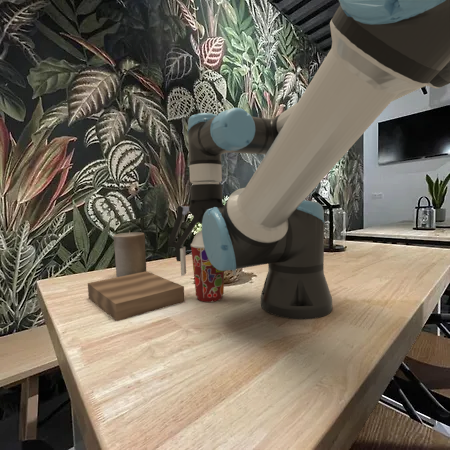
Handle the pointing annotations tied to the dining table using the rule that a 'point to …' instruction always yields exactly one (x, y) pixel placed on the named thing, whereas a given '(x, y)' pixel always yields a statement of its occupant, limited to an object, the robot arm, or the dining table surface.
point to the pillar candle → (130, 253)
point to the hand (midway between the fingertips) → (209, 273)
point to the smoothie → (205, 273)
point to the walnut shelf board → (134, 294)
